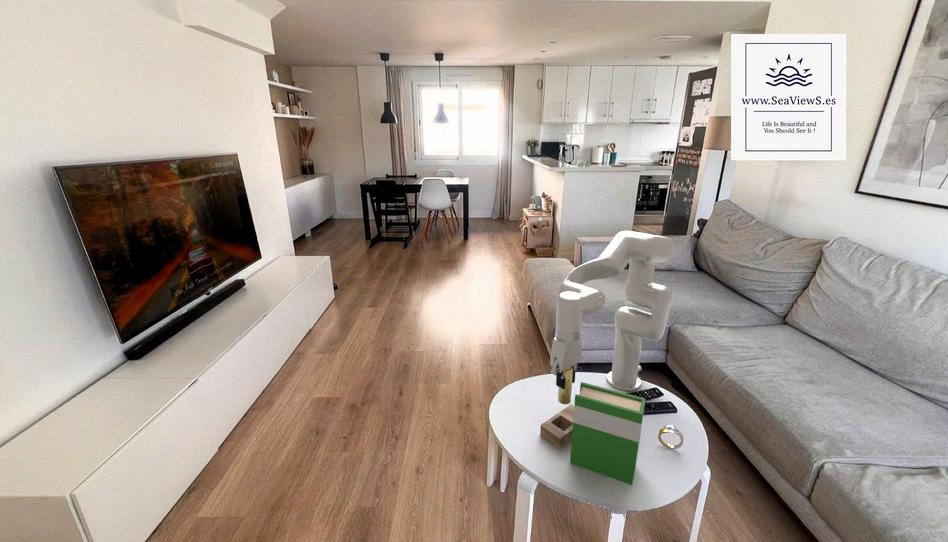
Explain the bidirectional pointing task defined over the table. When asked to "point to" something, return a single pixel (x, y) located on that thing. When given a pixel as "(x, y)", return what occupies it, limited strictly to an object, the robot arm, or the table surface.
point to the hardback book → (606, 431)
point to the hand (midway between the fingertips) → (565, 383)
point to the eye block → (553, 432)
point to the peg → (566, 388)
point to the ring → (672, 430)
